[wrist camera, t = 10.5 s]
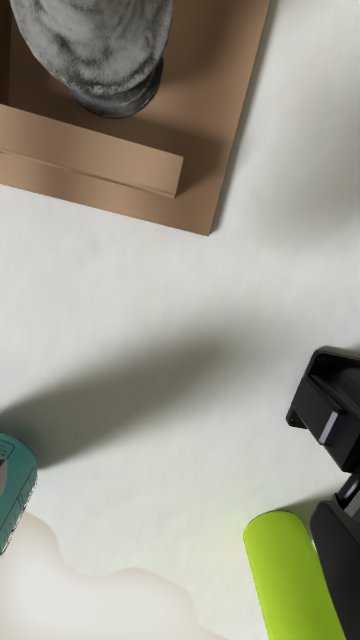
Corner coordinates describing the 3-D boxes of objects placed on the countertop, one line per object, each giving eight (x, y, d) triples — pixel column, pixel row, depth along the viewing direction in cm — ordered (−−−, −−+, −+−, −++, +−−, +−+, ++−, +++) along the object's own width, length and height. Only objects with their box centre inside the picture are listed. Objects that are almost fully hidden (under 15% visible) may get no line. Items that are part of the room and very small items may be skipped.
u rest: (284, -67, 13) (332, -180, 9) (206, 236, 17) (218, 238, 14) (-90, -225, 11) (-215, -449, 7) (-75, 164, 15) (-149, 145, 11)
